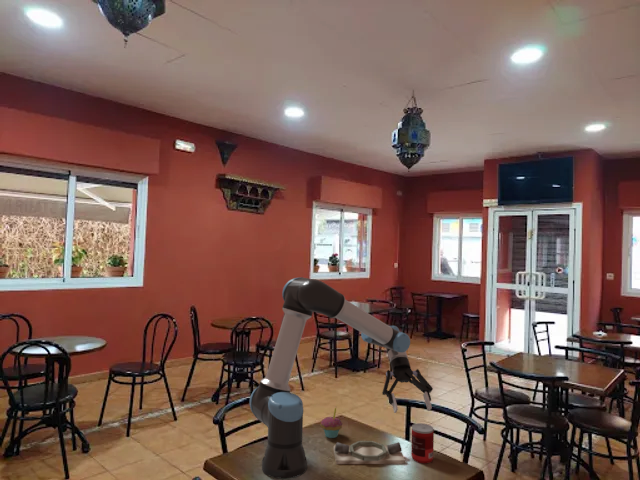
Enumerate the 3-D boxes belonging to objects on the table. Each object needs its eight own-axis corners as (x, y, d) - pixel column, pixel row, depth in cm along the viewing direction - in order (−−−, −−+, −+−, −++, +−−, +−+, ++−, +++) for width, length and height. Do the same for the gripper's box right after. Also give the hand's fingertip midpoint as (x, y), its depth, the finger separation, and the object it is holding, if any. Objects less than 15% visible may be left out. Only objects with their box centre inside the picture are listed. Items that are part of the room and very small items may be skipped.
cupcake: (345, 434, 178) (346, 404, 178) (335, 442, 170) (335, 410, 171) (327, 429, 182) (327, 400, 182) (316, 436, 175) (316, 406, 175)
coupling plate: (336, 464, 152) (336, 450, 152) (333, 448, 165) (333, 435, 165) (405, 464, 153) (405, 450, 154) (397, 448, 166) (397, 435, 166)
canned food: (431, 454, 162) (431, 423, 162) (435, 464, 154) (435, 432, 154) (410, 452, 162) (410, 422, 163) (412, 463, 154) (413, 431, 155)
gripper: (424, 364, 188) (440, 413, 173) (368, 366, 183) (379, 416, 168) (430, 354, 183) (447, 403, 168) (372, 356, 178) (384, 407, 163)
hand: (413, 410), depth 168 cm, fingers open, 13 cm apart
